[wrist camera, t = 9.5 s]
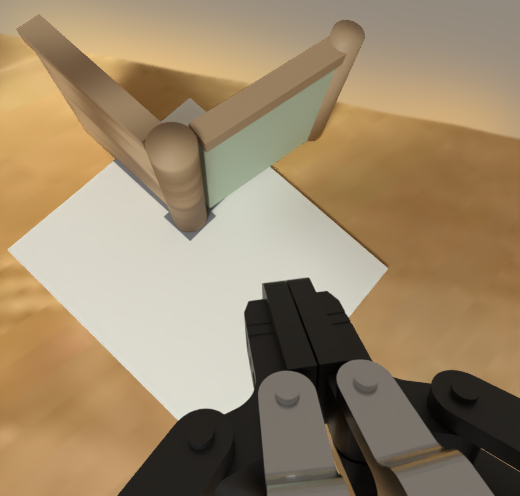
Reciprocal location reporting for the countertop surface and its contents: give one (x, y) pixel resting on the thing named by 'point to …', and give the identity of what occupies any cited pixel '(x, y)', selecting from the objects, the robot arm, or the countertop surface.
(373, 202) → the countertop surface
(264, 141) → the swing panel
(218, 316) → the card
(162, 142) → the fixed fence
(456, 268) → the countertop surface
